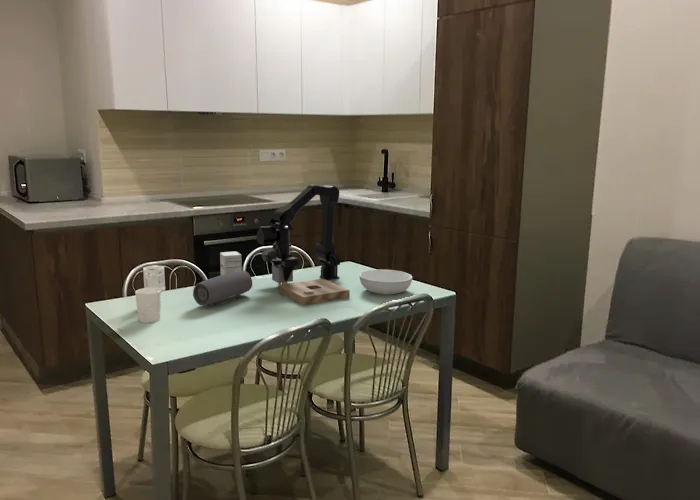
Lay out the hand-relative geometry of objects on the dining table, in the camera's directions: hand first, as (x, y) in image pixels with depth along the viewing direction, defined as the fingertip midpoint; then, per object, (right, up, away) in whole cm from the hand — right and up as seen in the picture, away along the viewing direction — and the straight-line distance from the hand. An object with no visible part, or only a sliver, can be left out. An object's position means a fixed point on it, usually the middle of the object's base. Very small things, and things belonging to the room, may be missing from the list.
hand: (282, 279), depth 239 cm
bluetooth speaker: (-19, -7, -21) cm, 29 cm away
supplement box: (-22, -2, +4) cm, 22 cm away
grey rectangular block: (0, -3, +1) cm, 3 cm away
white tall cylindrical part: (-42, -8, -27) cm, 51 cm away
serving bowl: (+41, -5, -5) cm, 42 cm away
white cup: (-39, -12, -43) cm, 59 cm away
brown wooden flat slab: (+13, -6, -11) cm, 18 cm away
